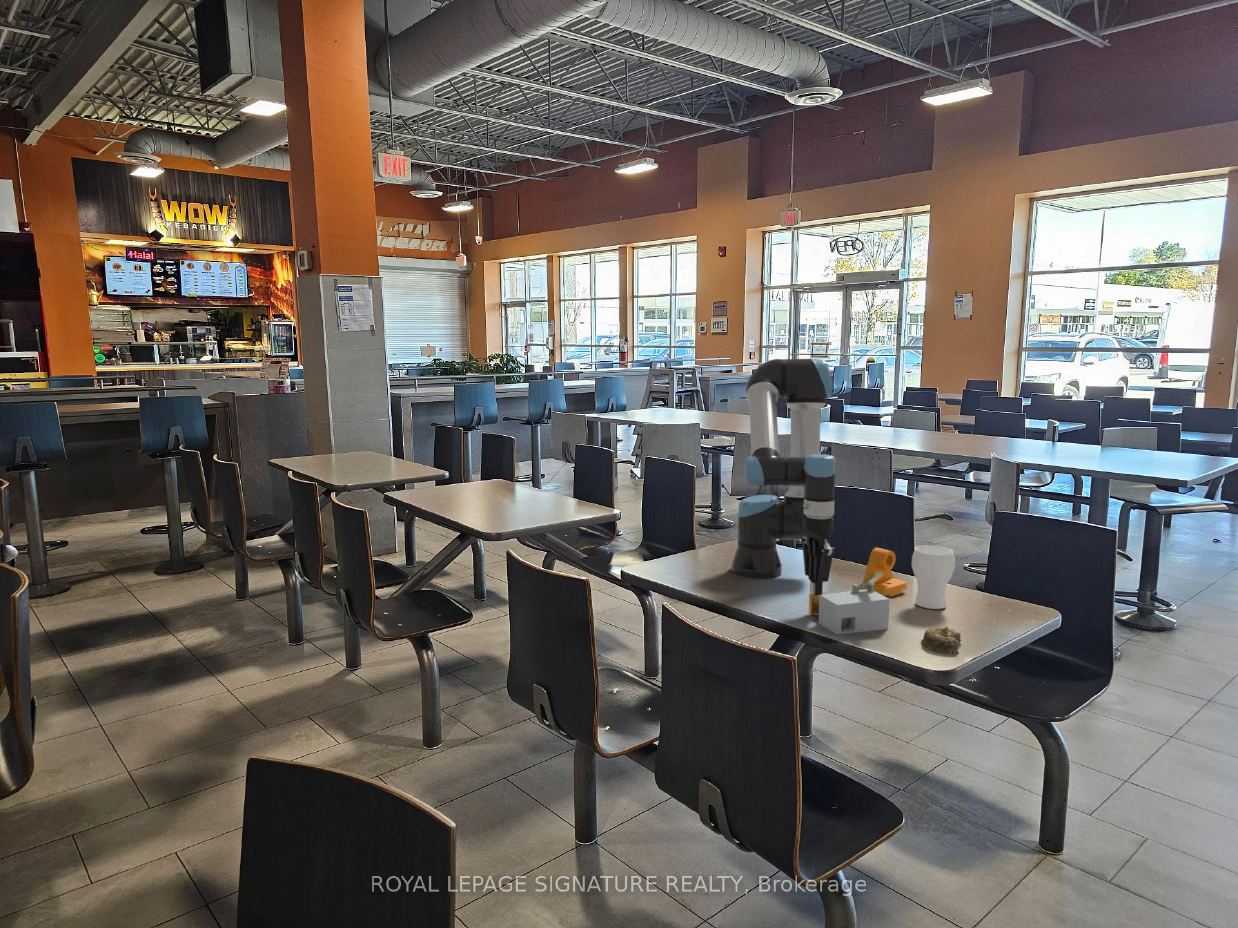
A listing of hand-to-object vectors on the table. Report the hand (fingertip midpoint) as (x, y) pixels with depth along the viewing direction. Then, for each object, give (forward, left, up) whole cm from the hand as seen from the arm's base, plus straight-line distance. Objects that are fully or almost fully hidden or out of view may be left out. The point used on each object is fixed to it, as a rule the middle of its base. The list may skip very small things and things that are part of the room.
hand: (815, 605), depth 202 cm
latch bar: (+8, +9, +7) cm, 13 cm away
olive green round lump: (+28, +17, -3) cm, 33 cm away
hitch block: (+11, +4, -3) cm, 12 cm away
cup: (+2, +34, -3) cm, 34 cm away
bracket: (-11, +29, -3) cm, 31 cm away
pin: (+1, 0, -3) cm, 3 cm away
